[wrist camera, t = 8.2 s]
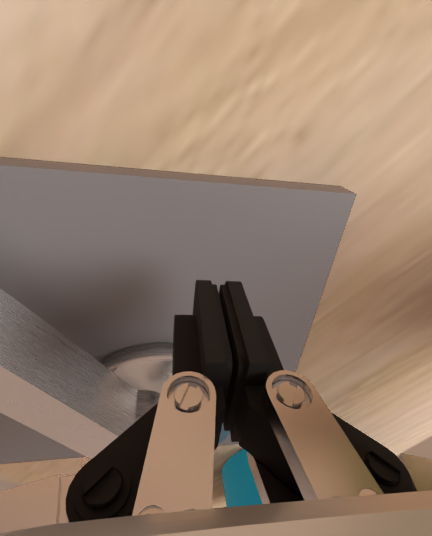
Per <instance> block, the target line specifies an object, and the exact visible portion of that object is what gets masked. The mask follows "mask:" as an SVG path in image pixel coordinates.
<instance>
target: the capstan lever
mask: <svg viewBox="0 0 432 536" xmlns="http://www.w3.org/2000/svg"><path fill="white" fill-rule="evenodd" d="M172 359H173V343H150V344H142V345H137V346H132V347H129V348H125V349H122V350H120V351H117V352H115V353H112V354H110V355H109V356H107V357H105V358H103V359H102V360H100V361H98V360H96V359H95V358H94V357H92V356H91V355H90V354H88V353H87V352H86V351H84V350H83V349H82V348H80V347H79V346H78V345H76V344H75V343H74V342H72V341H71V340H70V339H68V338H67V337H66V336H64V335H63V334H62V333H60V332H59V331H58V330H56V329H55V328H54V327H52V326H51V325H49V324H48V323H47V322H45V321H44V320H43V319H41V318H40V317H39V316H37V315H36V314H35V313H33V312H32V311H31V310H29V309H28V308H27V307H25V306H24V305H23V304H21V303H20V302H19V301H17V300H16V299H15V298H13V297H12V296H11V295H9V294H8V293H6V292H5V291H4V290H2V289H1V288H0V413H2V414H4V415H6V416H8V417H10V418H12V419H14V420H16V421H18V422H20V423H22V424H24V425H25V426H27V427H29V428H31V429H33V430H35V431H37V432H39V433H41V434H43V435H45V436H47V437H49V438H51V439H53V440H55V441H57V442H59V443H61V444H62V445H64V446H66V447H68V448H70V449H72V450H74V451H76V452H78V453H80V454H82V455H84V456H86V457H88V458H90V459H92V458H94V457H95V456H96V455H97V454H98V453H100V452H101V451H102V450H103V449H104V448H105V447H107V446H108V445H109V444H110V443H111V442H112V441H114V440H115V439H116V438H117V437H118V436H119V435H121V434H122V433H123V432H124V431H125V430H127V429H128V428H129V427H130V426H131V425H132V424H134V423H135V422H136V421H137V420H138V419H139V418H141V417H142V416H143V415H144V414H145V413H147V412H148V411H149V410H150V409H151V408H152V407H154V406H155V405H156V404H157V403H158V402H159V398H160V394H161V390H162V387H163V385H164V383H165V382H166V381H167V380H168V379H169V378H170V377H171V376H172ZM229 433H230V431H225V430H224V426H223V423H222V428H221V433H220V438H219V443H218V444H220V443H221V442H222V441H223V440H224V439H225V438H226V437H227V436H228V435H229Z"/></svg>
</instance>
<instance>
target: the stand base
mask: <svg viewBox="0 0 432 536" xmlns="http://www.w3.org/2000/svg"><path fill="white" fill-rule="evenodd" d="M355 197H356V194H355V193H353V192H351V191H349V190H347V189H345V188H343V187H341V186H332V185H321V184H309V183H297V182H286V181H274V180H262V179H251V178H239V177H227V176H216V175H204V174H192V173H181V172H169V171H157V170H146V169H134V168H123V167H111V166H99V165H88V164H76V163H64V162H53V161H41V160H29V159H18V158H6V157H0V288H1V289H2V290H4V291H5V292H6V293H8V294H9V295H11V296H12V297H13V298H15V299H16V300H17V301H19V302H20V303H21V304H23V305H24V306H25V307H27V308H28V309H29V310H31V311H32V312H33V313H35V314H36V315H37V316H39V317H40V318H41V319H43V320H44V321H45V322H47V323H48V324H49V325H51V326H52V327H54V328H55V329H56V330H58V331H59V332H60V333H62V334H63V335H64V336H66V337H67V338H68V339H70V340H71V341H72V342H74V343H75V344H76V345H78V346H79V347H80V348H82V349H83V350H84V351H86V352H87V353H88V354H90V355H91V356H92V357H94V358H95V359H96V360H98V361H100V360H102V359H103V358H105V357H107V356H109V355H110V354H112V353H115V352H117V351H120V350H122V349H125V348H129V347H132V346H137V345H142V344H150V343H173V330H174V315H193V304H194V293H195V283H196V280H211V282H212V284H216V285H217V288H218V293H219V288H220V285H225V282H226V281H240V282H241V283H242V285H243V288H244V291H245V293H246V296H247V299H248V302H249V305H250V308H251V310H252V313H253V316H261V317H263V319H264V321H265V323H266V326H267V328H268V331H269V333H270V336H271V338H272V341H273V344H274V346H275V349H276V351H277V354H278V356H279V359H280V361H281V364H282V366H283V369H284V370H288V371H292V372H296V369H297V366H298V363H299V360H300V357H301V354H302V351H303V348H304V345H305V343H306V340H307V337H308V334H309V331H310V328H311V325H312V322H313V319H314V316H315V313H316V310H317V308H318V305H319V302H320V299H321V296H322V293H323V290H324V287H325V284H326V281H327V278H328V275H329V273H330V270H331V267H332V264H333V261H334V258H335V255H336V252H337V249H338V246H339V243H340V240H341V237H342V235H343V232H344V229H345V226H346V223H347V220H348V217H349V214H350V211H351V208H352V205H353V202H354V200H355ZM232 444H239V442H232V441H231V435H230V433H229V435H228V436H227V437H226V438H225V439H224V440H223V441H222V442H221V443H220V444H218V446H220V445H232ZM77 457H86V456H84V455H82V454H80V453H78V452H76V451H74V450H72V449H70V448H68V447H66V446H64V445H62V444H61V443H59V442H57V441H55V440H53V439H51V438H49V437H47V436H45V435H43V434H41V433H39V432H37V431H35V430H33V429H31V428H29V427H27V426H25V425H24V424H22V423H20V422H18V421H16V420H14V419H12V418H10V417H8V416H6V415H4V414H2V413H0V464H6V463H18V462H30V461H42V460H53V459H65V458H77Z"/></svg>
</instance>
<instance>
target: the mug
mask: <svg viewBox="0 0 432 536" xmlns="http://www.w3.org/2000/svg"><path fill="white" fill-rule="evenodd" d="M222 478H223V485H224V492H225V498H226V505H227V507H236V506H247V505H259V504H262V501H261V498H260V495H259V492H258V489H257V486H256V483H255V480H254V477H253V474H252V471H251V468H250V466H249V463H248V458H247V451H246V450H245V449H242V450H240V451H239V452H237V453H236V454H234V455H233V456H231V457H230V458H229V460H228V461H227V462H226V463H225V464H224V466H223V469H222Z"/></svg>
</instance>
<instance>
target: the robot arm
mask: <svg viewBox="0 0 432 536" xmlns="http://www.w3.org/2000/svg"><path fill="white" fill-rule="evenodd" d="M222 423H223V426H224V430H225V431H230V435H231V441H232V442H239V445H240V446H241V447H242V448H243V449H245V450H246V451H247V458H248V463H249V466H250V468H251V471H252V474H253V477H254V480H255V483H256V486H257V489H258V492H259V495H260V498H261V501H262V504H259V505H247V506H236V507H224V508H213V509H212V495H213V468H214V450H215V449H216V448H217V447H218V443H219V438H220V433H221V428H222ZM0 536H432V459H428V458H423V457H418V456H413V455H408V454H402V453H401V455H400V456H399V457H397V456H396V455H395V454H394V453H392V452H391V451H390V450H389V449H387V448H386V447H384V446H383V445H381V444H380V443H378V442H376V441H375V440H373V439H372V438H370V437H369V436H367V435H366V434H364V433H362V432H361V431H359V430H358V429H356V428H355V427H353V426H351V425H350V424H348V423H347V422H345V421H344V420H342V419H340V418H339V417H337V416H336V415H334V414H333V413H331V412H330V410H329V409H328V407H327V405H326V404H325V402H324V401H323V399H322V398H321V396H320V395H319V393H318V392H317V390H316V389H315V387H314V386H313V385H312V383H311V382H310V381H309V380H308V379H306V378H305V377H304V376H302V375H300V374H298V373H296V372H292V371H288V370H284V369H283V366H282V364H281V361H280V359H279V356H278V354H277V351H276V349H275V346H274V344H273V341H272V338H271V336H270V333H269V331H268V328H267V326H266V323H265V321H264V319H263V317H261V316H253V313H252V310H251V308H250V305H249V302H248V299H247V296H246V293H245V291H244V288H243V285H242V283H241V282H240V281H226V282H225V285H220V288H219V293H218V288H217V285H216V284H212V282H211V280H196V283H195V293H194V304H193V315H174V330H173V359H172V376H171V377H170V378H169V379H168V380H167V381H166V382H165V383H164V385H163V387H162V390H161V394H160V398H159V402H158V403H157V404H156V405H155V406H154V407H152V408H151V409H150V410H149V411H148V412H147V413H145V414H144V415H143V416H142V417H141V418H139V419H138V420H137V421H136V422H135V423H134V424H132V425H131V426H130V427H129V428H128V429H127V430H125V431H124V432H123V433H122V434H121V435H119V436H118V437H117V438H116V439H115V440H114V441H112V442H111V443H110V444H109V445H108V446H107V447H105V448H104V449H103V450H102V451H101V452H100V453H98V454H97V455H96V456H95V457H94V458H92V459H91V460H90V461H89V462H88V463H87V464H85V465H84V466H83V467H82V468H81V470H80V471H79V472H78V473H77V474H74V475H70V476H67V477H64V478H60V474H59V475H56V476H52V477H49V478H46V479H42V480H39V481H35V482H32V483H29V484H25V485H22V486H18V487H15V488H12V489H8V490H5V491H1V492H0Z"/></svg>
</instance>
